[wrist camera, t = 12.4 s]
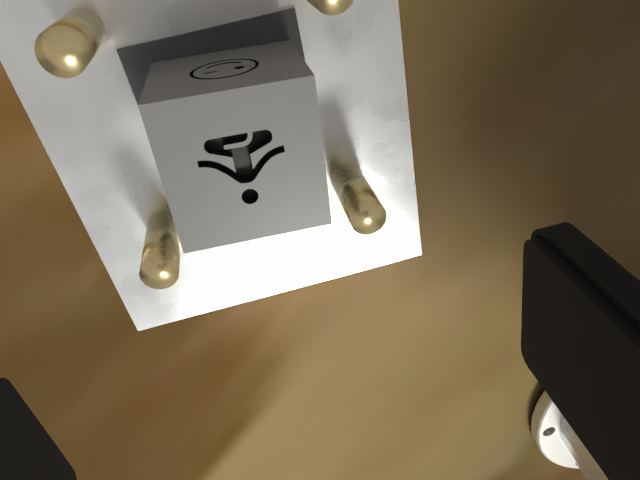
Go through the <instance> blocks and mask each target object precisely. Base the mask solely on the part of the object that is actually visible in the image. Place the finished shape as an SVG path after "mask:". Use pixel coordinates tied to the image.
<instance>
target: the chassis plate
mask: <svg viewBox="0 0 640 480" xmlns="http://www.w3.org/2000/svg"><path fill="white" fill-rule="evenodd" d="M287 40H290V41H291V42H292V44H293V45H294V47H295V48H296V50H297V51H298V52H299V54H300V55H301V57H302V58H303V59H304V61H305V62H306V64H307V65H308V66H309V68H310V69H311V71H312V72H313V74H314V75H315V82H316V91H317V99H318V108H319V116H320V125H321V133H322V141H323V150H324V158H325V167H326V175H327V184H328V192H329V200H330V209H331V217H332V224H330V225H325V226H320V227H315V228H310V229H305V230H300V231H295V232H290V233H285V234H280V235H275V236H270V237H265V238H260V239H255V240H250V241H245V242H240V243H235V244H230V245H225V246H220V247H214V248H209V249H204V250H199V251H194V252H189V253H183V250H182V247H181V243H180V240H179V237H178V234H177V231H176V227H175V224H174V221H173V218H172V214H171V211H170V208H169V205H168V201H167V198H166V195H165V192H164V188H163V185H162V182H161V179H160V175H159V172H158V169H157V166H156V162H155V159H154V156H153V153H152V149H151V146H150V143H149V140H148V137H147V133H146V130H145V127H144V124H143V120H142V117H141V114H140V111H139V107H138V103H139V100H140V97H141V94H142V91H143V88H144V85H145V82H146V78H147V75H148V72H149V69H150V66H151V63H152V62H158V61H164V60H170V59H176V58H182V57H188V56H195V55H201V54H207V53H213V52H219V51H225V50H231V49H238V48H244V47H250V46H256V45H262V44H268V43H274V42H281V41H287ZM0 61H1V63H2V65H3V67H4V69H5V71H6V73H7V75H8V77H9V79H10V81H11V83H12V85H13V87H14V89H15V91H16V93H17V95H18V96H19V98H20V100H21V102H22V104H23V106H24V108H25V110H26V112H27V114H28V116H29V118H30V120H31V122H32V124H33V126H34V128H35V130H36V132H37V134H38V136H39V138H40V140H41V142H42V144H43V146H44V147H45V149H46V151H47V153H48V155H49V157H50V159H51V161H52V163H53V165H54V167H55V169H56V171H57V173H58V175H59V177H60V179H61V181H62V183H63V185H64V187H65V189H66V191H67V193H68V195H69V197H70V199H71V200H72V202H73V204H74V206H75V208H76V210H77V212H78V214H79V216H80V218H81V220H82V222H83V224H84V226H85V228H86V230H87V232H88V234H89V236H90V238H91V240H92V242H93V244H94V246H95V248H96V250H97V251H98V253H99V255H100V257H101V259H102V261H103V263H104V265H105V267H106V269H107V271H108V273H109V275H110V277H111V279H112V281H113V283H114V285H115V287H116V289H117V291H118V293H119V295H120V297H121V299H122V301H123V303H124V304H125V306H126V308H127V310H128V312H129V314H130V316H131V318H132V320H133V322H134V324H135V326H136V328H137V330H138V331H140V330H144V329H148V328H152V327H155V326H159V325H163V324H166V323H170V322H174V321H178V320H181V319H185V318H189V317H192V316H196V315H200V314H204V313H207V312H211V311H215V310H218V309H222V308H226V307H230V306H233V305H237V304H241V303H244V302H248V301H252V300H256V299H259V298H263V297H267V296H270V295H274V294H278V293H282V292H285V291H289V290H293V289H297V288H300V287H304V286H308V285H311V284H315V283H319V282H323V281H326V280H330V279H334V278H337V277H341V276H345V275H349V274H352V273H356V272H360V271H363V270H367V269H371V268H375V267H378V266H382V265H386V264H389V263H393V262H397V261H401V260H404V259H408V258H412V257H415V256H419V255H422V250H421V239H420V229H419V218H418V207H417V197H416V186H415V175H414V165H413V154H412V143H411V133H410V122H409V111H408V100H407V90H406V79H405V68H404V58H403V47H402V36H401V26H400V15H399V4H398V0H0Z"/></svg>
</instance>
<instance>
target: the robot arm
mask: <svg viewBox="0 0 640 480" xmlns="http://www.w3.org/2000/svg"><path fill="white" fill-rule="evenodd" d="M521 351H522V355H523V358H524V360H525V362H526V364H527V366H528V368H529V369H530V370H531V372H532V373H533V375H534V376H535V377H536V379H537V380H538V382H539V383H540V384H541V386H542V387H543V389H544V392H543V394H542V395H541V397H540V398H539V400H538V402H537V404H536V407H535V409H534V412H533V415H532V421H531V431H532V437H533V439H534V441H535V442H536V444H537V446H538V448H539V449H540V451H541V452H542V453H543V455H544V456H545V457H546V458H547V459H548V460H550V461H552V462H553V463H555V464H558V465H561V466H564V467H570V468H580V469H581V471H582V472H583V474H584V475H585V477H586V478H587V480H640V281H639V280H638V279H637V278H635V277H634V276H633V275H632V274H631V273H629V272H628V271H627V270H626V269H625V268H623V267H622V266H621V265H620V264H619V263H617V262H616V261H615V260H614V259H613V258H611V257H610V256H609V255H608V254H607V253H605V252H604V251H603V250H602V249H601V248H599V247H598V246H597V245H596V244H595V243H593V242H592V241H591V240H590V239H589V238H587V237H586V236H585V235H584V234H583V233H581V232H580V231H579V230H578V229H577V228H575V227H574V226H573V225H572V224H570V223H567V222H564V223H560V224H556V225H552V226H548V227H544V228H541V229H537V230H535V231H534V232H533V234H532V236H531V239H530V240H527V241H525V244H524V252H523V291H522V330H521ZM0 480H76V475H75V471H74V470H73V468H72V466H71V465H70V464H69V462H68V461H67V460H66V458H65V457H64V455H63V454H62V453H61V451H60V450H59V448H58V447H57V446H56V444H55V443H54V442H53V440H52V439H51V437H50V436H49V435H48V433H47V432H46V431H45V429H44V428H43V426H42V425H41V424H40V422H39V421H38V419H37V418H36V417H35V415H34V414H33V413H32V411H31V410H30V408H29V407H28V406H27V404H26V403H25V402H24V400H23V399H22V397H21V396H20V395H19V393H18V392H17V390H16V389H15V388H14V386H13V385H12V384H11V382H10V381H9V380H8V379H6V378H0Z"/></svg>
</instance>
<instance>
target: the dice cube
mask: <svg viewBox="0 0 640 480" xmlns="http://www.w3.org/2000/svg"><path fill="white" fill-rule="evenodd" d="M138 107H139V111H140V114H141V117H142V120H143V124H144V127H145V130H146V133H147V137H148V140H149V143H150V146H151V149H152V153H153V156H154V159H155V162H156V166H157V169H158V172H159V175H160V179H161V182H162V185H163V188H164V192H165V195H166V198H167V201H168V205H169V208H170V211H171V214H172V218H173V221H174V224H175V227H176V231H177V234H178V237H179V240H180V243H181V247H182V250H183V253H189V252H194V251H199V250H204V249H209V248H214V247H220V246H225V245H230V244H235V243H240V242H245V241H250V240H255V239H260V238H265V237H270V236H275V235H280V234H285V233H290V232H295V231H300V230H305V229H310V228H315V227H320V226H325V225H330V224H332V217H331V209H330V200H329V192H328V184H327V175H326V167H325V158H324V150H323V141H322V133H321V125H320V116H319V108H318V99H317V91H316V82H315V75H314V74H313V72H312V71H311V69H310V68H309V66H308V65H307V64H306V62H305V61H304V59H303V58H302V57H301V55H300V54H299V52H298V51H297V50H296V48H295V47H294V45H293V44H292V42H291V41H290V40H287V41H281V42H274V43H268V44H262V45H256V46H250V47H244V48H238V49H231V50H225V51H219V52H213V53H207V54H201V55H195V56H188V57H182V58H176V59H170V60H164V61H158V62H152V63H151V66H150V69H149V72H148V75H147V78H146V82H145V85H144V88H143V91H142V94H141V97H140V100H139V103H138Z"/></svg>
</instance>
